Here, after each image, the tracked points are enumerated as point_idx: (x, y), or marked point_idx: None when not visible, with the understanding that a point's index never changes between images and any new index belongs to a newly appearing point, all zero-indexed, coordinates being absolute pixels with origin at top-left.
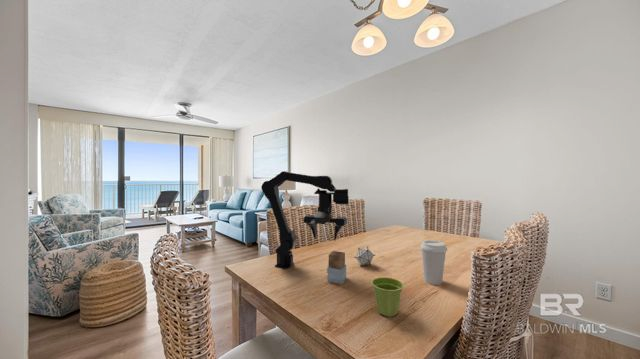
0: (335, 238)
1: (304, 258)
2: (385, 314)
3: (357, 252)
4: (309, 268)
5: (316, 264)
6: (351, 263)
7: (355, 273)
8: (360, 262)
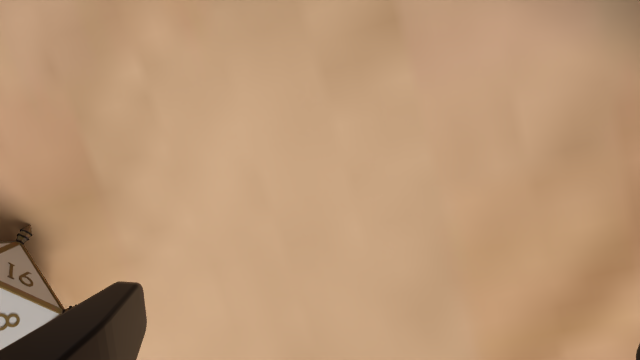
0: (81, 306)
1: (634, 286)
2: None
3: None
4: (533, 32)
5: (474, 166)
6: (140, 277)
7: (10, 44)
8: (16, 254)
